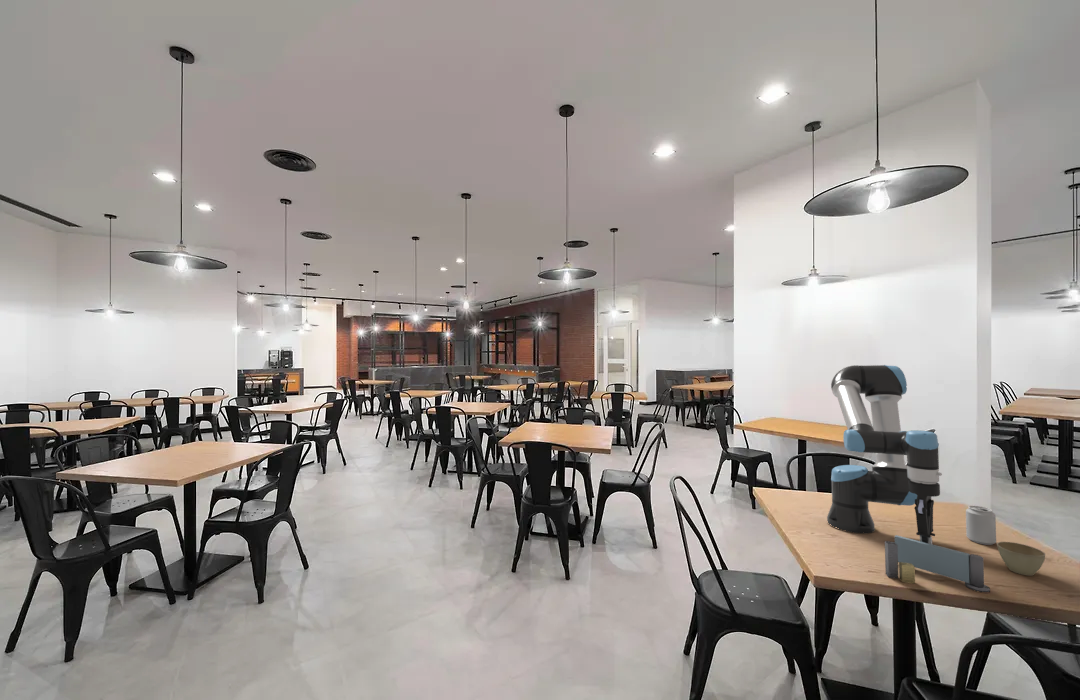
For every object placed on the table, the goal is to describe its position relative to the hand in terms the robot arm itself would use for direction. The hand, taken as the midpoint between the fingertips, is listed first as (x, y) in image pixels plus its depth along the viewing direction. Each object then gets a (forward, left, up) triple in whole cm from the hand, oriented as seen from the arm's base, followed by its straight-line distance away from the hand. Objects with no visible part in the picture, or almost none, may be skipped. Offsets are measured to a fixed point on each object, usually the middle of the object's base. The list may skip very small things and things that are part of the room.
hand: (926, 556), depth 135 cm
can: (+15, +40, -4) cm, 42 cm away
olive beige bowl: (+22, +17, -4) cm, 28 cm away
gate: (+2, -4, -3) cm, 5 cm away
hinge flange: (+11, -5, -4) cm, 13 cm away
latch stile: (-6, -13, -4) cm, 15 cm away
